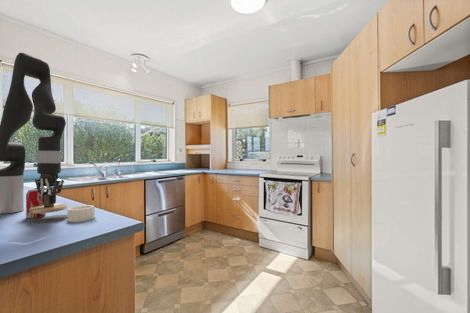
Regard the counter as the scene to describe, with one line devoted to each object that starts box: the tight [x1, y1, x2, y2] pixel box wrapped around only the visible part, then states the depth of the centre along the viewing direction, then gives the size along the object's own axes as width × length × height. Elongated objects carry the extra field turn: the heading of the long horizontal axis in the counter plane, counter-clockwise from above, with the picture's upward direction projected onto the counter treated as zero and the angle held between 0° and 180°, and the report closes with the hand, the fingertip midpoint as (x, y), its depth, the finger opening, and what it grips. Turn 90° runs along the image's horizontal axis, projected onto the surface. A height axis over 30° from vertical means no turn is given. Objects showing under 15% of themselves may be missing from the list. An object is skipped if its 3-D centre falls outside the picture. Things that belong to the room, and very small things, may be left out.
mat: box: [28, 214, 68, 225], centre depth 93 cm, size 13×13×1 cm
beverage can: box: [25, 188, 47, 219], centre depth 96 cm, size 6×6×12 cm
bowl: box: [66, 204, 96, 223], centre depth 93 cm, size 9×9×5 cm
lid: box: [29, 194, 68, 214], centre depth 93 cm, size 12×12×6 cm
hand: (49, 203), depth 93 cm, fingers closed on lid, 3 cm apart
